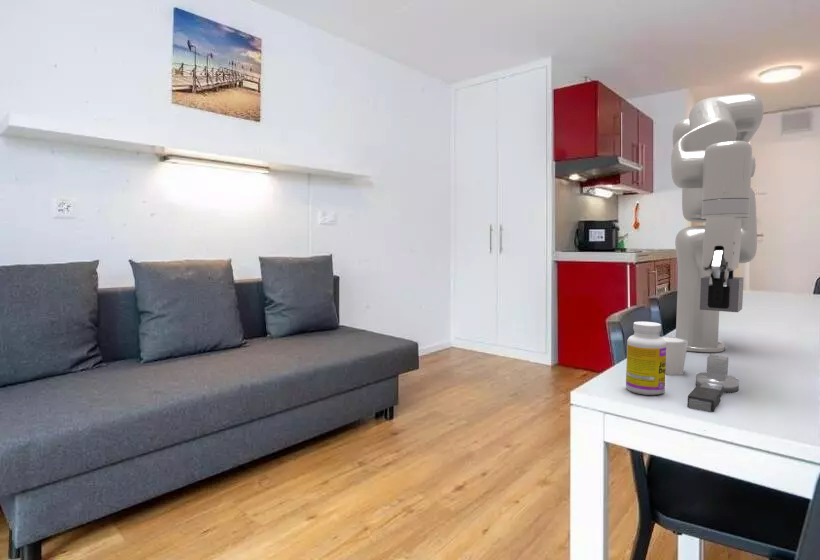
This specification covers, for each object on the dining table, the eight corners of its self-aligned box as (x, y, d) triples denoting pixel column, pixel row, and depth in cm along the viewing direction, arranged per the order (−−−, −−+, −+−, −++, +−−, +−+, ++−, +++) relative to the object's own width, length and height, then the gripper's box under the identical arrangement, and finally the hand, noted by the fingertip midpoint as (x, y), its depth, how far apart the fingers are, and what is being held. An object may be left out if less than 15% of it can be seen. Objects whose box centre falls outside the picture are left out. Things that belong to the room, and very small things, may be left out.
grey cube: (705, 306, 96) (706, 276, 96) (742, 308, 92) (743, 277, 92) (699, 309, 91) (700, 277, 91) (737, 312, 88) (739, 279, 87)
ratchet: (699, 380, 98) (700, 351, 97) (741, 386, 93) (742, 356, 93) (676, 405, 83) (677, 371, 83) (724, 415, 79) (725, 379, 78)
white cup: (691, 376, 101) (692, 343, 100) (655, 374, 102) (656, 342, 101) (680, 367, 107) (681, 336, 107) (646, 366, 109) (647, 335, 108)
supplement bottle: (663, 398, 87) (665, 327, 86) (623, 392, 90) (625, 324, 89) (666, 388, 93) (668, 322, 91) (628, 383, 96) (630, 319, 95)
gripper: (710, 213, 99) (706, 300, 101) (692, 208, 86) (688, 309, 88) (754, 211, 95) (750, 303, 96) (743, 206, 81) (738, 312, 83)
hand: (721, 305), depth 92 cm, fingers closed on grey cube, 6 cm apart
